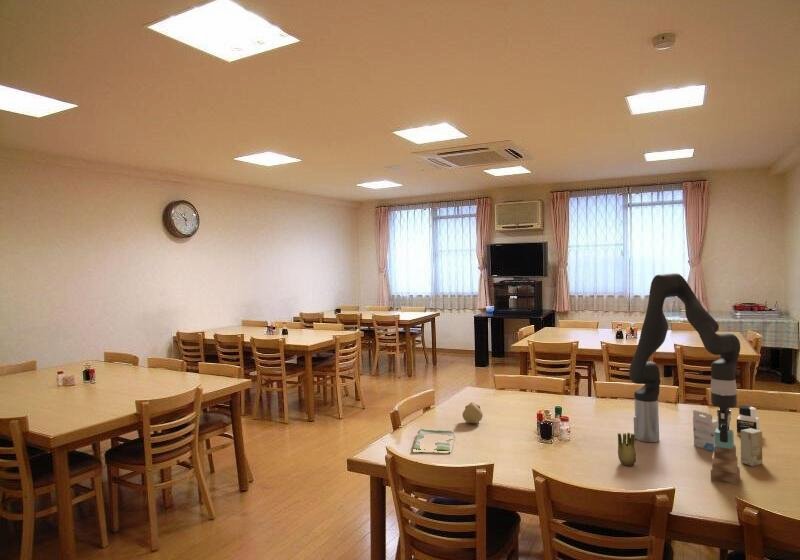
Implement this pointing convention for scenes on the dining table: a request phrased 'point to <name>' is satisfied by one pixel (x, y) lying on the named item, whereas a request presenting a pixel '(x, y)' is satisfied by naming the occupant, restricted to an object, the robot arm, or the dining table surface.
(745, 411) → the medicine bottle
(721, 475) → the tower base
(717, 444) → the cube
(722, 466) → the tower mid
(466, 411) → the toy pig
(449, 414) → the dining table surface
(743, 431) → the skincare box
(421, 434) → the green white rectangular tray
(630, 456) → the fennel bulb
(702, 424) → the ink box
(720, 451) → the tower top
